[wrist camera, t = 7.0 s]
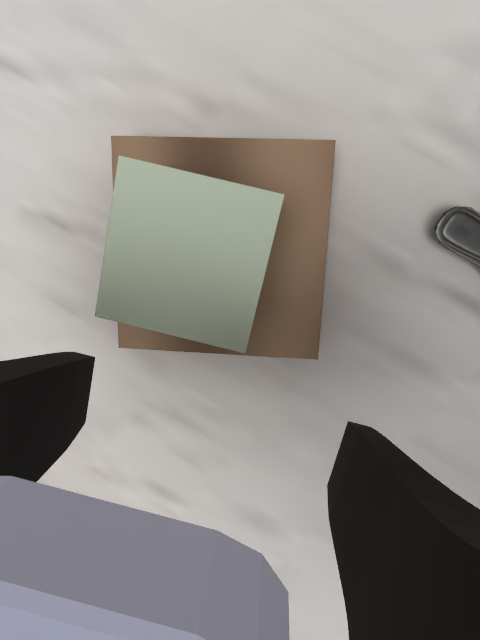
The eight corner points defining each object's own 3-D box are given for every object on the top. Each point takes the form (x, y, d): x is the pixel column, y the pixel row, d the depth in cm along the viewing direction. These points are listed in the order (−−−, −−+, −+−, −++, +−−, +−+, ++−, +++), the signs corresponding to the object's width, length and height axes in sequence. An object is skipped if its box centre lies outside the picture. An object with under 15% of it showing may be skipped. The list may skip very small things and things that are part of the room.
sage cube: (282, 201, 17) (284, 194, 12) (253, 318, 18) (245, 353, 13) (163, 173, 17) (118, 155, 12) (142, 291, 18) (95, 316, 13)
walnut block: (326, 152, 19) (335, 140, 16) (312, 340, 21) (317, 359, 18) (135, 148, 20) (111, 136, 17) (139, 330, 22) (118, 347, 19)
